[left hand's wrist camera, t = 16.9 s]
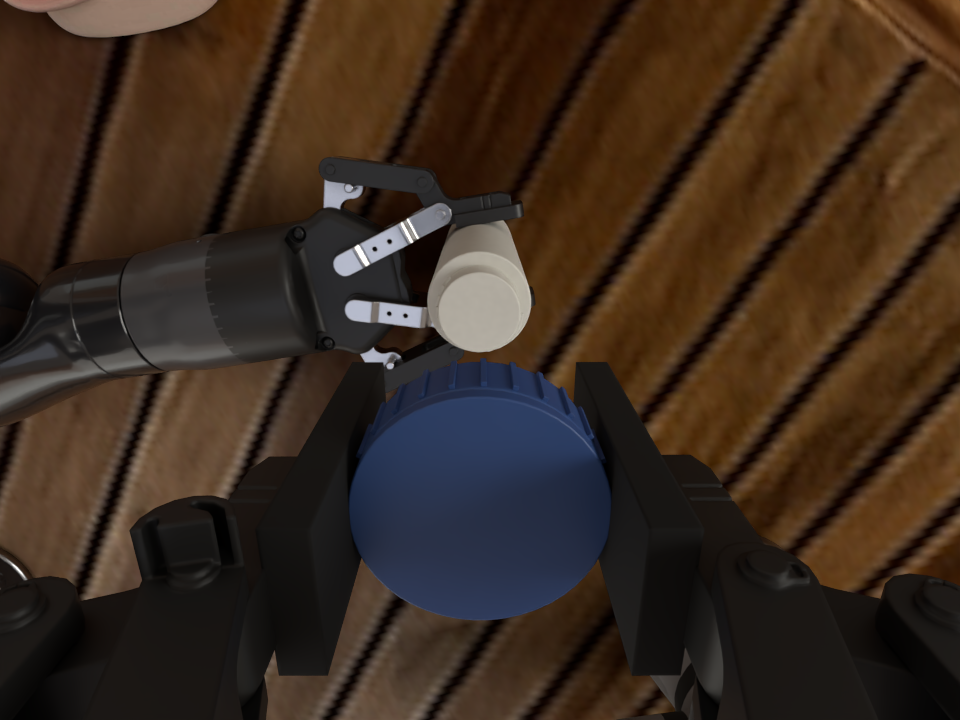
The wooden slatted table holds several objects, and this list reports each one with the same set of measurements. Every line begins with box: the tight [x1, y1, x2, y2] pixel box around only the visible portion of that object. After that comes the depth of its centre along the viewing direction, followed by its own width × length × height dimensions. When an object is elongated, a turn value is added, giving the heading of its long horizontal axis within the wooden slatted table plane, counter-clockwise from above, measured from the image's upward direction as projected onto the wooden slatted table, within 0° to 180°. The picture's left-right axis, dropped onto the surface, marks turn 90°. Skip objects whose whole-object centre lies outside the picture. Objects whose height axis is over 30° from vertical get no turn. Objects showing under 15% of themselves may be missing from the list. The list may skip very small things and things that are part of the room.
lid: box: [348, 358, 612, 620], centre depth 11 cm, size 5×5×2 cm
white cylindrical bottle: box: [427, 220, 531, 352], centre depth 31 cm, size 4×4×17 cm
